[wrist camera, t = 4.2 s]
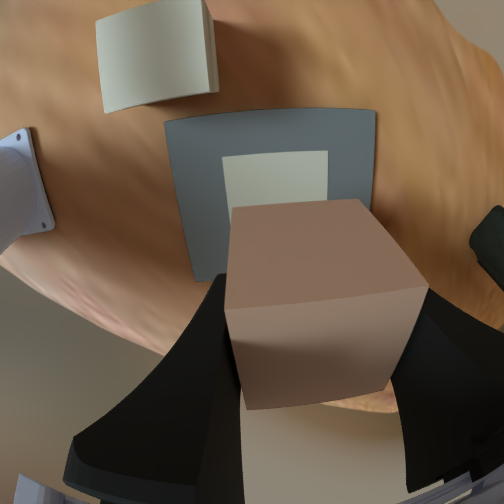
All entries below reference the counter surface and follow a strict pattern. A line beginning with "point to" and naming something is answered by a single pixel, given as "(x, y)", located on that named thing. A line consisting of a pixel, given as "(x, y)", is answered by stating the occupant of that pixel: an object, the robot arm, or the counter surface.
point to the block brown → (316, 302)
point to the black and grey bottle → (491, 244)
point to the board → (263, 168)
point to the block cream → (156, 54)
